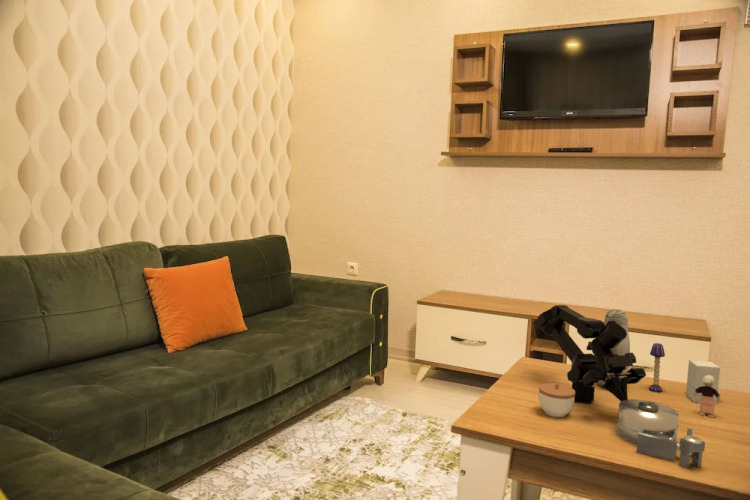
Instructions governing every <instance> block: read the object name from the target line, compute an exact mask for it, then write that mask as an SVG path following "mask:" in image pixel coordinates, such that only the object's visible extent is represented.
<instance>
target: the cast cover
mask: <svg viewBox="0 0 750 500" xmlns="http://www.w3.org/2000/svg"><path fill="white" fill-rule="evenodd" d="M679 417H680V415H679V412H678V411H676V410H675V409H674V408H673V407H670V406H668V405H666V404H663V403H659V402H656V401H651V400H645V399H628V400H624V401H620V402H619V404H618V415H617V429H616V433H617V435H618V436H619V437H620V438H621V439H623V440H625V441H627V442H629V443H630V444H634V445H636V446H637V441H638V433H644V434H648V435H652V436H657V437H661V438H666V439H668V438H673V439H675V440H676V441H678V440H677V438H678V437H677V436H678V428H679Z"/></svg>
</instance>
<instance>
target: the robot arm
mask: <svg viewBox="0 0 750 500" xmlns="http://www.w3.org/2000/svg"><path fill="white" fill-rule="evenodd" d="M565 322H566V323H567V324H569V325H571V326H572V327H573V328H575V329H576V333H577V334H578V335H579V336H580V337H582V339H586V340H587V339H592V340H591V341H588V343H587V345H586V351H591V352H592V353H584V352H583V351H582V349H581V348H580V347H579V345H578V344H577V343H576V342H575V340H573V338H572V337H571V336H570V334H569V333H568V332H567V330H566V329H565V328H564V324H565ZM536 324H537V327H538V328H539V329H540V330H541V331H542V332H543V333H545V334H548V335H549V336H551V337H552V338H553V339H554V341H555V342H556V343H557V345H558V346H559V347H560V348H561V350H562V351H563V352H564V354H565V355H566V357H567V359H569V361H570V362H571V365H570V370H568V372H567V373H566V375H567V380H568V381H570V382H571V384H572V385H571V388H572V389H574V390H575V398H574V402H578V403H584V404H589V405H591V404H592V402H593V401H594V399H595V389H596V387H595V386H594V385H595V384H599V383H600V381H601V380H602V381H603V385H602V384H601V388H602V389H605V390H607V391H608V392H609V393H610V394H611V395H613V396H614V397H615V398H616V399H617V400H619V401H620V402H621V401H624V400H629V397H628V385H634V384H638V383H639V382H640V381H641V380H643V379H644V378H645V377H646V376H647V373H646V371H645V369H644V368H642V367H633V366H634V364H636V363H637V357H636V355H635V353H634V352H630V353H625V355H620V356H619V355H618V354H614V353H613V350H612V348H615V347H617V346H618V345H619V344H620V343H621V342H622V341H623V340H624V339H625V338H626V336H627V332H626V330H625V329H624V328H623V327H622V326H620V325H619V324H616V322H615V321H608V322H607V324H606V325H604V321H602V320H600V319H597V318H591V317H586V316H584V315H582V314H581V313H579V312H577V311H575V310H574V309H571V308H570V307H569V306H568V305H566V304H561V305H560V304H559V305H557V304H555V305H554V306H552V307H551V308H549V309H547V310H545V311H543V312H541V313H540V314H539V315H538V317H536ZM627 366H628V367H630V368H629V369H628V371H627V372H626V373H623V372H622V371H623V370H625V369H626V367H627Z"/></svg>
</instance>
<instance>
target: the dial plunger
mask: <svg viewBox="0 0 750 500" xmlns="http://www.w3.org/2000/svg"><path fill="white" fill-rule="evenodd" d="M668 439H670V440H674V441H677V440H675V439H673V438H668ZM676 451H679V452H681V448H680V442H677V449H676ZM693 455H694V453H690V458H692V457H693Z"/></svg>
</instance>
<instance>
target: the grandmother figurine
mask: <svg viewBox="0 0 750 500" xmlns="http://www.w3.org/2000/svg"><path fill="white" fill-rule="evenodd" d="M702 382H703V383H704V384H705V386H701V387H698V388H697V389H695V391H694V393H693V396H696V395H697V394H698V393H702V395H701V399H700V403H699V412H698V415H700V416H704V417H706V416H707V417H709V418H715V417H716V416H717V415H716V414H715V404H714V397H713V394H714V395H715V396H716V397H717V402H718V403H721V402H722V401H723V400H722V399H721V398H722V397H721V394H720V393H719V391H718V392H717V390H716V389H714V388H712V387H711V386H713V384H714V382H715V381H714V377H713V376H710V375H707V376H705V377H704V378H703V379H702Z"/></svg>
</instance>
